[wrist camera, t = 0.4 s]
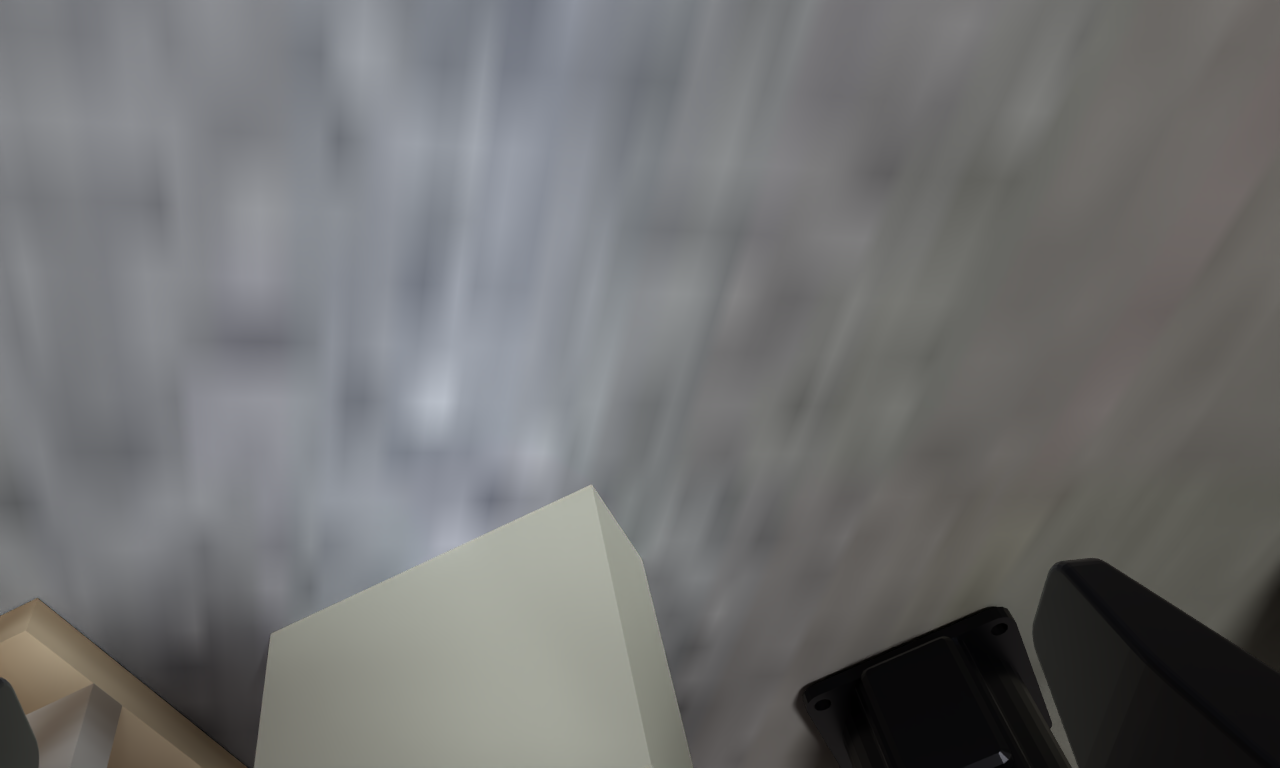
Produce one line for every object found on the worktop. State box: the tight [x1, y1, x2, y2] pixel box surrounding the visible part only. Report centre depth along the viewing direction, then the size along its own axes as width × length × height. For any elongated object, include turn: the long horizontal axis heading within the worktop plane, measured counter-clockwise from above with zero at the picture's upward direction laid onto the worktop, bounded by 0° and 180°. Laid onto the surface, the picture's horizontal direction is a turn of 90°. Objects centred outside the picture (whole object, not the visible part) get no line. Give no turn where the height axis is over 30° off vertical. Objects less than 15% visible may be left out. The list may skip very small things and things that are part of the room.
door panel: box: [254, 485, 693, 768], centre depth 25 cm, size 9×3×8 cm, turn 114°
